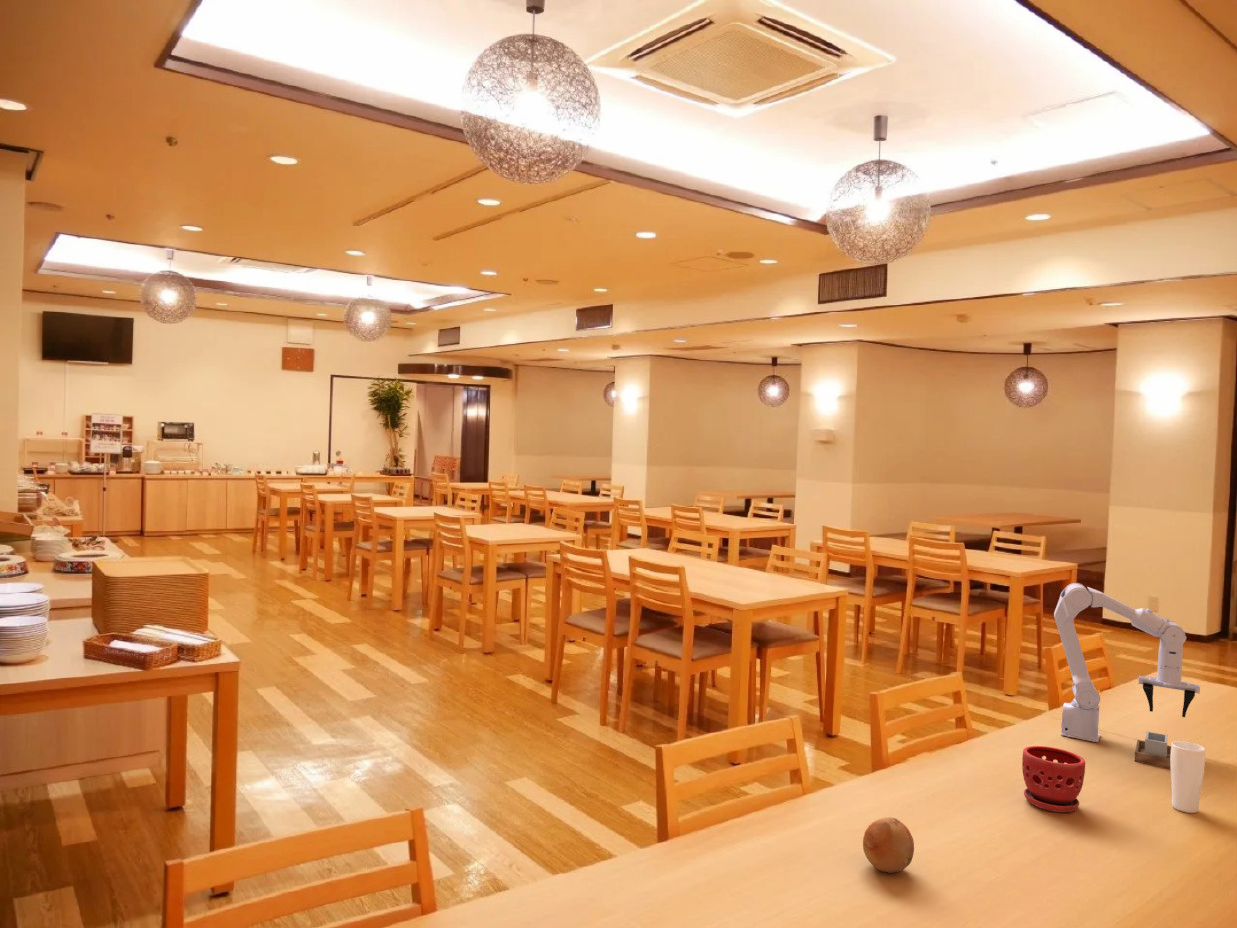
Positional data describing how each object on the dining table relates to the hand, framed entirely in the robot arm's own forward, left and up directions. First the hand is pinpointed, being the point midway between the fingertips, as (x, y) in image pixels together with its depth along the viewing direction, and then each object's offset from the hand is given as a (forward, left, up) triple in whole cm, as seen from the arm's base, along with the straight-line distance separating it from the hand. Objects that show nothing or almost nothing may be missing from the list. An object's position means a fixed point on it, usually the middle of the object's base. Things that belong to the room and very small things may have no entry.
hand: (1167, 713), depth 241 cm
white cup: (+5, -46, -10) cm, 47 cm away
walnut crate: (-2, -12, -10) cm, 15 cm away
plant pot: (-21, -63, -10) cm, 67 cm away
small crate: (-2, -12, -9) cm, 15 cm away
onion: (-43, -118, -10) cm, 126 cm away
